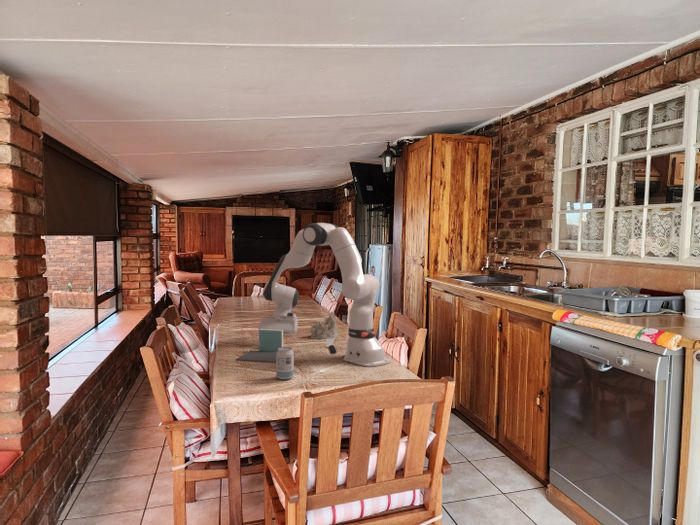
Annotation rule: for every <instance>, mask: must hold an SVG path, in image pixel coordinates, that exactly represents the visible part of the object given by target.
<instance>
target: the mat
mask: <svg viewBox="0 0 700 525" xmlns="http://www.w3.org/2000/svg"><path fill="white" fill-rule="evenodd" d="M276 353H277V352H270V351H259V350H253V349H252V350H249V351H247V352H245V353H243V354H242V355H241V356H239V357H237V358H235V361H237V360H242V361H241V362H253V361H260V362H259V363H269V362H274V363H273V364H276Z"/></svg>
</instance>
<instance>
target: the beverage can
mask: <svg viewBox="0 0 700 525" xmlns="http://www.w3.org/2000/svg"><path fill="white" fill-rule="evenodd" d="M294 358H295V356H294V350H293V348H292V347H289V346H285V347H284V346H283V347H281V348H278V351H277V353H276V363H275V366H276V368H275V369H276V371H275V372H276V378H277V379H279V380H281V381H288V380H289V381H290V380H291V379H292V378H293V377H294V376H295V372H294V371H295V366H294V365H295V364H294V363H295V362H294V361H295V359H294Z"/></svg>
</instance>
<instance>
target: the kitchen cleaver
mask: <svg viewBox="0 0 700 525" xmlns="http://www.w3.org/2000/svg"><path fill="white" fill-rule="evenodd" d="M325 340H326V344H327V346H328V348H327V349H329V348H330V349H329V352H330V351H331V352H330V353H331V354H330V355H336V354H335V353H338V351H337V350H336V347H335V345H334V342H335V340H336V338H328V339H325Z"/></svg>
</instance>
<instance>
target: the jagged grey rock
mask: <svg viewBox="0 0 700 525" xmlns="http://www.w3.org/2000/svg"><path fill="white" fill-rule="evenodd" d="M335 315H336V314H335V313H334V311H332V312H330V315H329V317H324V321H316V323H315V324H314V323H313V324H311V326H310V327H311V328H310V333H311V335H310V339H311V338H314V339H315V340H321V339H328V338H335V339H337V338H336V337H339V331H338V330H337V329H338V328H337V325H336V316H335ZM314 339H313V340H314Z"/></svg>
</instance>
